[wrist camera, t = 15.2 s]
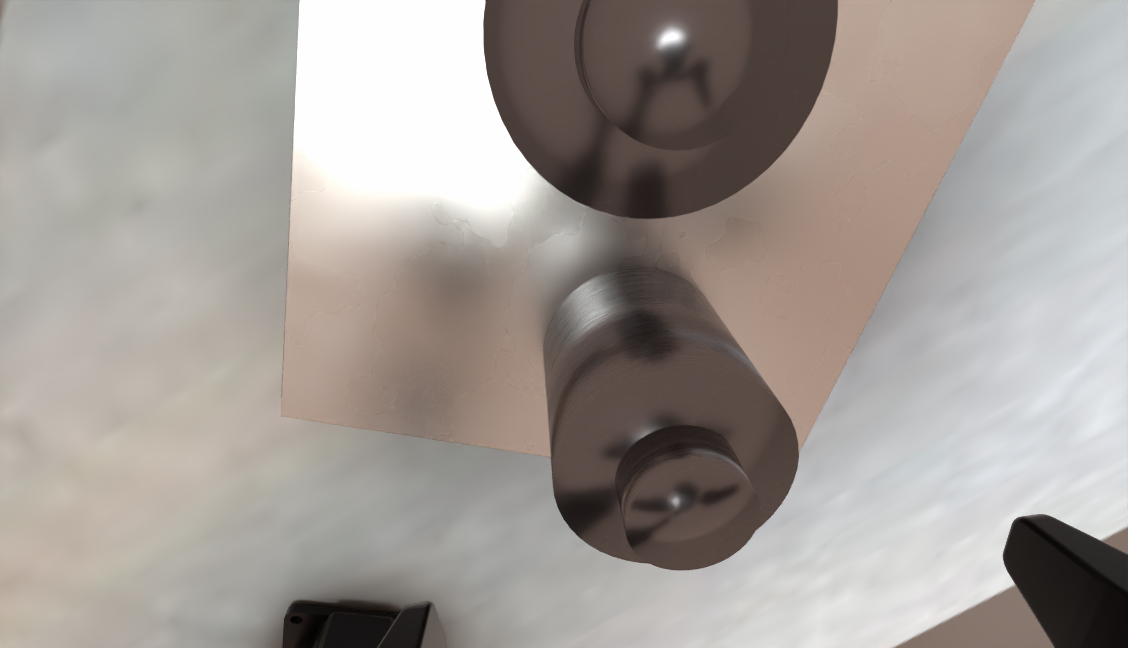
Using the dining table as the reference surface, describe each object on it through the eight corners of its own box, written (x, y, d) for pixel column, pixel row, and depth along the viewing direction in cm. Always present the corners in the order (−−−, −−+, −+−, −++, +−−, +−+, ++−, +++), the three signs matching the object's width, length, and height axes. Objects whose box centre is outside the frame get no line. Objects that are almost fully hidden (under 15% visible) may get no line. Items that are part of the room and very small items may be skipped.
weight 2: (685, 434, 17) (765, 625, 12) (526, 408, 16) (530, 600, 11) (745, 287, 15) (876, 433, 10) (567, 249, 14) (597, 386, 9)
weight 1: (660, 190, 14) (762, 289, 8) (463, 114, 13) (427, 168, 7) (759, -30, 12) (976, -95, 6) (539, -140, 11) (570, -335, 5)
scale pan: (737, 418, 22) (778, 491, 18) (323, 347, 19) (281, 416, 16) (975, -109, 15) (1114, -152, 11) (376, -326, 12) (321, -467, 9)
